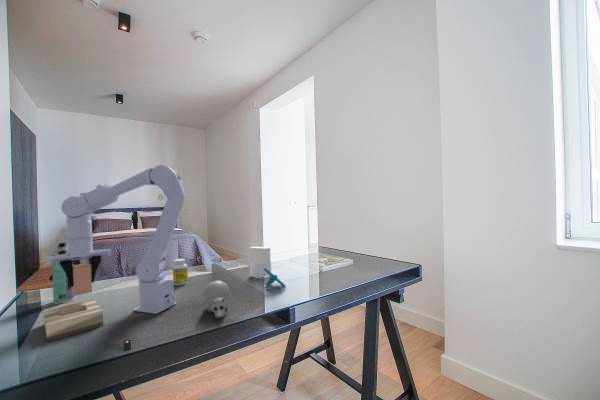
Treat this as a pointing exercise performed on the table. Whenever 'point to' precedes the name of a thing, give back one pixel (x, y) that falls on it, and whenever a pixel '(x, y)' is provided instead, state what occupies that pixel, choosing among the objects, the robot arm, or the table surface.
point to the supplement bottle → (180, 272)
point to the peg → (81, 279)
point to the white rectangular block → (259, 261)
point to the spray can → (61, 279)
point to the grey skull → (216, 297)
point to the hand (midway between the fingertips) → (82, 284)
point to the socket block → (72, 319)
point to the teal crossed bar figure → (272, 279)
